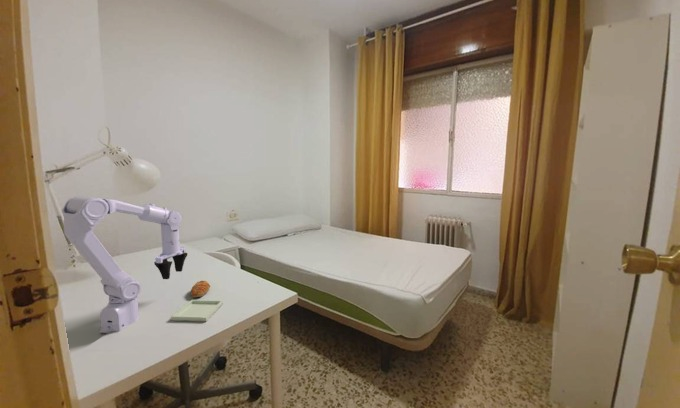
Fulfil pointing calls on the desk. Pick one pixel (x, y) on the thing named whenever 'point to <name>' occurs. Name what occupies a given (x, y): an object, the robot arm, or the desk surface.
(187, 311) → the tray
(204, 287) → the pastry
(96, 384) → the desk surface
